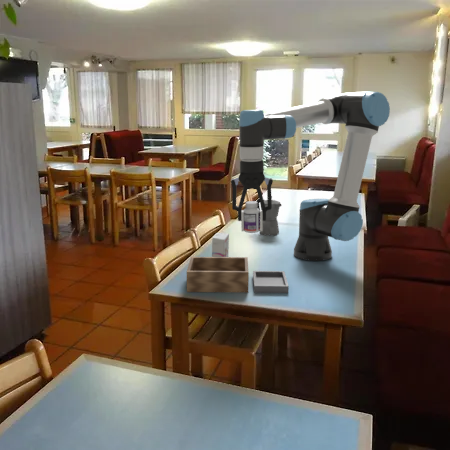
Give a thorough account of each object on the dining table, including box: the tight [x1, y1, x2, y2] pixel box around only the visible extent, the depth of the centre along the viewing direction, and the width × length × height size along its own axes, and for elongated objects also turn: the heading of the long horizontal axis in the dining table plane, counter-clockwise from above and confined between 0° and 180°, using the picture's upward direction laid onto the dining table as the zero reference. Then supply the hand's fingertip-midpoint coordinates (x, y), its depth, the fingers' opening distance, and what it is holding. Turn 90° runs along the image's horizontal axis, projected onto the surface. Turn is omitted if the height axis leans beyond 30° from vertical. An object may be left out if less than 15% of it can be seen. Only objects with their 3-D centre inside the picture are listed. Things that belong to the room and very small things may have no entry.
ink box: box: [211, 232, 230, 257], centre depth 173 cm, size 9×5×12 cm, turn 168°
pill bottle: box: [243, 200, 261, 234], centre depth 151 cm, size 5×5×10 cm
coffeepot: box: [256, 195, 282, 236], centre depth 217 cm, size 15×9×18 cm, turn 44°
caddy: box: [186, 256, 250, 294], centre depth 156 cm, size 20×15×7 cm
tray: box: [252, 270, 290, 294], centre depth 156 cm, size 11×14×2 cm
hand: (251, 230), depth 152 cm, fingers closed on pill bottle, 5 cm apart
